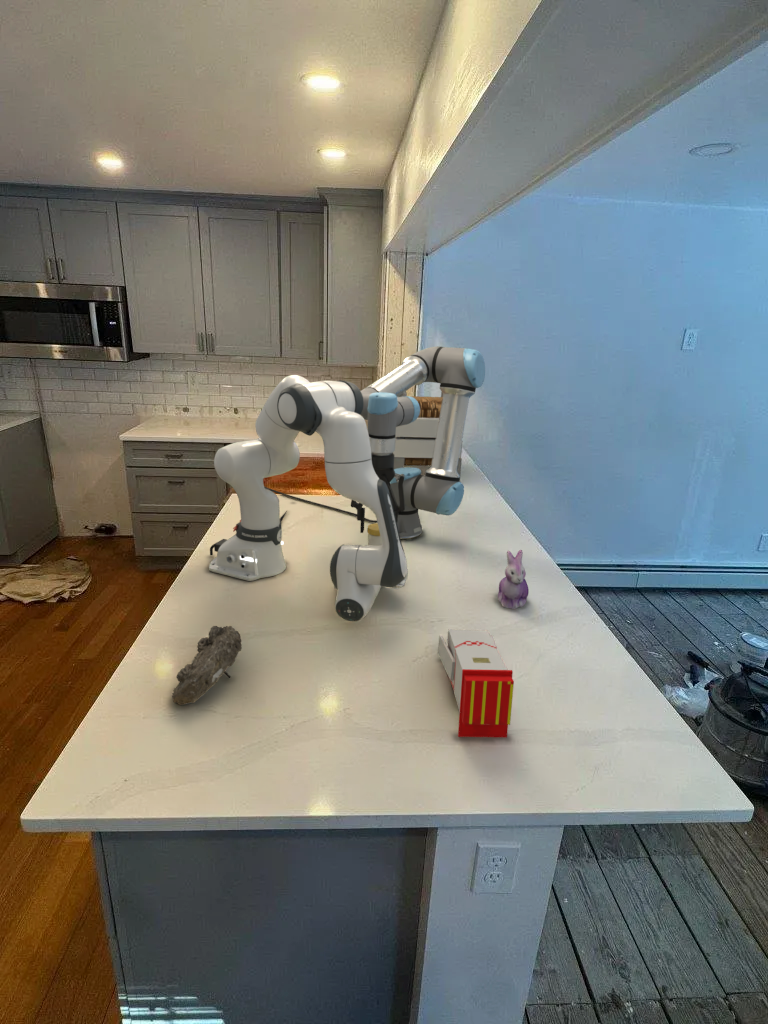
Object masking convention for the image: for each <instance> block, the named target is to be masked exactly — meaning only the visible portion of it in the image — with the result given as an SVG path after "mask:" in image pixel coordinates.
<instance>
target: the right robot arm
mask: <svg viewBox="0 0 768 1024" xmlns="http://www.w3.org/2000/svg"><path fill="white" fill-rule="evenodd" d="M485 377H486V363H485V359H484V355H483V354H482V353H481V351H479V350H477V349H473V348H467V347H449V346H440V345H439V346H437V345H436V346H430V347H427V348H423V349H421V350H419V351H416V352H414V353H412V354H410V355H409V356H407V357H405V359H403V361H402V362H401V364H400V365H399V366H397V367H395V368H394V369H393V370H391V371H389V372H388V373H386V374H385V375H383V376H382V377H380V378H378V379H377V380H375V381H374V382H372V383H371V384H369V385H368V386H366V387H365V388H363V389H360V391H361V393H362V396H363V410H362V413H361V416H362V417H363V418H364V420H365V421H367V429H368V434H369V439H370V446H371V457H372V465H373V468H374V471H375V473H376V475H377V476H378V478H379V479H381V480H382V481H384V482H385V483H386V485H387V487H388V490H389V493H390V496H391V500H392V504H393V508H394V513H395V517H396V522H397V526H398V531H399V535H400V540H401V541H410V540H415V539H418V538H420V537H421V536H422V535H423V525H422V524H421V518H420V515H419V510H420V511H425V512H429V513H433V514H436V515H442V516H452V515H453V514H454V513H456V512H457V510H458V509H459V508H460V506H461V504H462V502H463V498H464V495H465V485H464V483H462V482H461V475H460V476H459V474H458V473H457V465H458V460H459V454H460V448H461V443H462V441H463V438H464V432H463V431H465V425H466V419H467V415H468V408H469V403H470V398H472V396H474V395H475V394H476V389H479V388H481V387H482V386H483V384H484V382H485ZM424 383H436V384H439V390H440V392H442V393H443V399H442V405H441V410H440V416H439V422H438V428H437V434H436V440H435V446H434V452H433V458H432V464H431V465H430V466H429V468H427V469H426V470H425V471H424V472H425V473H424V474H422V470H421V468H419V467H413V466H411V467H409V466H406V467H404V468H397V469H394V454H393V452H394V451H395V433H396V427H397V426H401V425H407V424H409V423H411V422H413V421H415V420H416V419H417V418H418V416H419V414H420V406H419V403H418V402H417V400H416V399H415V398H413V397H411V395H407V396H402V397H398V396H400V395H401V394H402V393H404V392H405V391H406V392H407V391H408V390H410V389H411V388H412V387H414V386H420V385H422V384H424ZM462 437H463V438H462ZM462 444H463V443H462ZM459 480H460V482H459ZM264 488H265V489H268V490H270V491H272V492H274V493H275V494H278V495H281V496H284V497H288V498H290V499H294V500H296V501H301V502H304V503H307V504H311V505H314V506H318V507H321V508H326V509H329V510H334V511H336V512H340V513H344V514H346V515H350V516H354V517H356V520H357V521H359V522H360V531H359V532H360V534H364V531H365V522H368V523H371V524H375V523H377V519H376V520H375V519H373V520H372V519H369V518H366V517H365V516H366V515H365V514H366V507H363V506H364V505H363V504H361V503H359V502H356V501H354V500H351V499H350V500H351V501H350V507H351V508H355V509H356V513H355V512H351V511H348V510H345V509H341V508H337V507H333V506H330V505H325V504H323V503H322V504H321V503H318V502H315V501H311V500H307V499H304V498H301V497H297V496H293V495H290V494H287V493H284V492H281V491H278V490H275V489H273V488H270V487H267V486H264Z"/></svg>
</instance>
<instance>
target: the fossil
mask: <svg viewBox="0 0 768 1024" xmlns="http://www.w3.org/2000/svg"><path fill="white" fill-rule="evenodd" d="M242 645H243V644H242V638H241V633H240V631H239V630H236V629H235V628H234V627H233V626H232V625H225V626H223V627H222V626H218V625H213V626H212V627H210V630H209V631H208V637H207V636H205V637H201V638H200V639H199V640H198V642H197V645H196V649H197V650H196V651H197V653H196V654H195V656H194V658H193V659H192V662H191V663H187V664H185V666H184V667H182V668H180V670H179V671H178V673H177V675H176V679H177V681H178V684H177V685H176V686H175V687H174V688H173V690H172V693H171V694H172V702H173V703H175V704H178V705H180V706H182V705H187V704H191V703H192V704H195V703H196V702H197V701H198V700H199V699H200V698H201V697H202V696H204V695H205V694H207V692H208V691H209V690H210V689H211V688H212V687H213V686H215V685H216V684H217V683H218V681H219V679H220V677H223V675H225V676H226V677H227V678H228V679H231V678H232V676H231V675H230V674H229V673H228V671H227V669H228V668H229V667H231V666H232V665H233V664H234V663H235V661H236V659H237V657H238V655H239V653H240V652H241V651H242V649H243V648H242V647H243V646H242Z"/></svg>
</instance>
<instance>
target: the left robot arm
mask: <svg viewBox="0 0 768 1024" xmlns="http://www.w3.org/2000/svg"><path fill="white" fill-rule="evenodd" d="M362 410H363V396H362V393H361V389H360V388H359V386H358V385H356V384H355V383H353V382H351V381H347V380H341V379H339V380H317V381H309V380H308V379H307V378H305V377H303V376H301V375H297V374H291V375H290V374H289V375H287V376H285V377H283V378H282V379H281V380H280V382H279V383H278V384H277V385H276V386H275V387H274V389H273V390H271V393H270V394H269V396H268V397H267V399H266V401H265V403H264V405H263V406H262V408H261V411H260V412H259V414H258V416H257V418H256V420H255V424H254V425H255V432H256V434H257V436H258V438H254V439H249V440H243V441H237V442H233V443H230V444H227V445H225V446H222V447H220V448H218V449H217V451H216V453H215V455H214V460H213V466H214V470H215V472H216V474H217V476H218V477H219V478H220V480H222V481H223V482H225V483H226V484H228V485H230V486H231V488H232V489H233V490H234V492H235V493H236V495H237V498H238V502H239V511H240V512H239V513H240V520H239V521H238V522H237V523H236V524H235V526H234V527H233V528H232V529H233V533H234V532H235V534H233V535H232V536H231V537H229V538H228V539H227V538H222V539H221V540H219V541H217V542H215V543H214V544H212V545H211V546H210V547H209V556H214V552H217V553H216V556H215V557H214V558H213V559H212V560H211V561H210V562H209V564H208V565H209V566H208V570H209V572H213V573H217V574H220V575H223V576H224V575H225V576H228V577H232V578H236V579H239V580H244V581H248V582H252V581H256V580H259V579H263V578H269V577H273V576H277V575H279V574H281V573H283V572H284V571H285V570H286V569H287V563H286V560H285V556H284V552H283V547H282V545H284V541H283V528H282V521H281V522H280V518H281V515H280V514H281V513H280V512H281V511H280V508H281V507H280V506H281V505H280V499H279V497H278V495H277V493H275V492H272V491H270V490H268V489H265V488H264V487H265V485H264V479H265V478H270V477H274V476H279V475H283V474H286V473H288V472H290V471H292V470H294V469H296V468H297V466H298V465H299V463H300V459H301V452H300V448H299V446H298V444H297V443H296V441H295V440H296V438H297V436H299V433H300V432H301V433H303V434H305V435H307V436H312V435H314V434H315V432H316V433H317V434H318V435H319V436H320V438H321V440H322V443H323V457H324V471H325V477H326V480H327V484H328V485H329V486H330V488H331V489H332V490H333V491H335V493H337V494H339V495H340V496H342V497H343V498H346V499H348V500H354V501H356V502H357V503H361V504H363V506H365V508H368V509H369V510H370V511H371V512H372V513H373V514H374V516H375V519H376V520H377V523H378V527H379V532H380V536H381V540H382V545H379V546H378V545H368V544H345V543H344V544H341V545H340V546H339V547H338V548H337V549H336V550H335V551H334V553H333V554H332V556H331V559H330V563H329V574H330V580H331V583H332V584H333V588H334V589H335V590H336V597H335V602H334V610H335V612H336V614H337V615H338V617H340V619H343V620H344V621H347V622H359V621H361V620H363V619H364V618H365V617H366V616H367V615H368V614H369V612H370V611H371V609H372V608H373V605H374V603H375V601H376V598H377V597H378V595H379V592H380V591H381V588H382V587H383V588H390V589H400V588H402V587H405V585H406V584H407V581H408V576H409V569H408V560H407V556H406V554H405V550H404V547H403V543H402V540H400V535H399V531H398V526H397V522H396V517H395V513H394V508H393V504H392V500H391V496H390V493H389V490H388V487H387V485H386V483H385V482H384V481H382V480H381V479H379V478H378V476H377V475H376V473H375V471H374V468H373V465H372V457H371V446H370V439H369V434H368V425H367V422H366V420H364V418H363V417H362V416H361V413H362Z"/></svg>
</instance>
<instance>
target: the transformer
mask: <svg viewBox="0 0 768 1024" xmlns="http://www.w3.org/2000/svg"><path fill="white" fill-rule="evenodd" d="M440 393H441V394H440V396H415V395H414V396H413V395H412V396H411V395H410V396H411V397H413V398H415V399H416V400H417V402H418V403H419V406H420V414H419V416H418V418H417V419H416V420H415V421H413V422H411V423H409V424H407V425H401V426H397V427H396V433H395V451H394V452H393V454H394V469H397V468H405V466H406V467H409V466H411V467H417V466H418V467H431V464H432V458H433V452H434V446H435V440H436V434H437V428H438V422H439V416H440V410H441V405H442V399H443V393H442V391H440ZM407 394H408V393H407V391H405V392H404V393H402V394H401V395H400V396H398V397H402V396H408V395H407ZM464 431H465V430H464ZM464 431H463V433H464ZM463 438H464V436H463V437H462V439H463ZM463 442H464V441H463V440H462V443H461V448H460V454H459V460H458V465H457V473H458V474H459V476H460V477H461V472H462V461H463V460H462V453H463ZM459 482H461V479H460V480H459Z"/></svg>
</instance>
